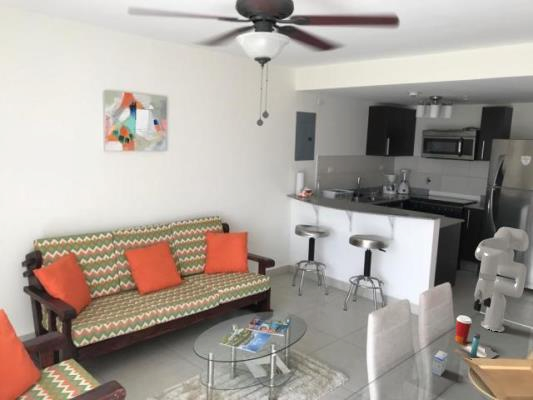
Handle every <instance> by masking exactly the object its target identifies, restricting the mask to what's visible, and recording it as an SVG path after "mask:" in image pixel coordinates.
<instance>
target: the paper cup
mask: <svg viewBox="0 0 533 400" xmlns="http://www.w3.org/2000/svg"><path fill="white" fill-rule="evenodd" d="M472 323H473V322H472V319H471V317H469V316H467V315H458V316H457V317H456V327H455V328H456V329H455V337H454V338H455V340H454V342H456V343H458V344H460V345H467V342H468V337H469V335H470V330H471V325H472Z"/></svg>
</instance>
